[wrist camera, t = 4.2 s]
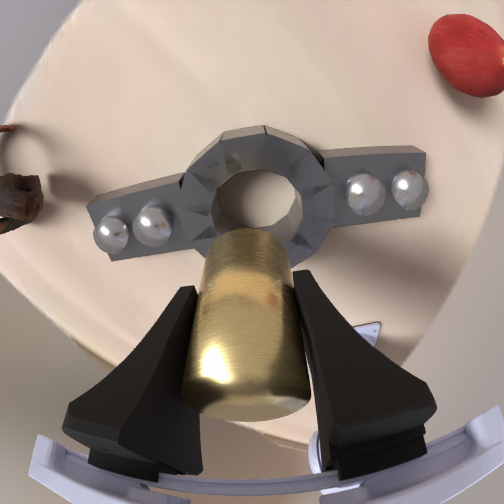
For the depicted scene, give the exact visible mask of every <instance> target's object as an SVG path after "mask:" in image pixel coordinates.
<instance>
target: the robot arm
mask: <svg viewBox="0 0 504 504" xmlns="http://www.w3.org/2000/svg"><path fill="white" fill-rule="evenodd" d="M292 273H293V282H294V290H295V296H296V302H297V307H298V312H299V318H300V324H301V330H302V336H303V342H304V348H305V352H306V356H307V360H308V364H309V368H310V378H311V379H312V382H313V390H314V397H315V405H316V413H317V422H318V431H315V432H314V434H313V436H312V438H311V439H310V442H309V448H308V453H309V462H310V466H311V469H312V472H313V474H310V475H302V476H294V477H283V478H270V479H211V478H197V477H186V476H178V475H177V474H180V475H185V474H187V475H199V474H200V473H201V472H202V471H203V465H202V456H201V444H200V418H199V412H198V411H196V410H194V409H192V408H191V407H190V406H188V405H187V404H186V403H185V402H184V400H183V399H182V396H181V390H182V384H183V377H184V371H185V365H186V359H187V353H188V347H189V341H190V336H191V330H192V325H193V319H194V314H195V309H196V304H197V298H198V294H197V291H196V289H195V287H194V285H193V286H185V287H180V289H179V290H178V291H177V293H176V294H175V295H174V297H173V298H172V300H171V301H170V303H169V304H168V306H167V307H166V308H165V310H164V311H163V313H162V314H161V315H160V317H159V318H158V320H157V321H156V322H155V324H154V325H153V326H152V328H151V329H150V330H149V332H148V333H147V334H146V335H145V337H144V338H143V339H142V341H141V342H140V343H139V344H138V345H137V346H136V348H135V349H134V350H133V351H132V352H131V353H130V354H129V355H128V356H127V357H126V359H125V360H124V361H123V362H121V363H120V364H119V365H118V366H117V367H116V368H115V369H114V370H113V371H112V372H111V373H110V374H109V375H108V376H106V377H105V378H104V379H103V380H102V381H100V382H99V383H98V384H97V385H95V386H94V387H93V388H91V389H90V390H88V391H87V392H86V393H84V394H83V395H81V396H80V397H78V398H76V399H75V400H74V401H72V402H70V403H69V406H68V409H67V412H66V415H65V419H64V422H63V426H62V430H63V432H64V433H65V434H66V435H68V436H69V437H71V438H73V439H74V440H76V441H78V442H80V443H81V444H83V445H85V446H87V447H89V448H90V453H89V456H88V455H85V454H82V453H80V452H77V451H74V450H71V449H69V448H66V447H65V446H64V445H62V444H60V443H58V442H56V441H54V440H52V439H50V438H47V437H45V436H43V435H41V434H38V437H37V440H36V444H35V448H34V452H33V456H32V460H31V464H30V470H29V476H31V477H32V478H33V479H35V480H37V481H39V482H40V483H42V484H43V485H45V486H46V487H48V488H49V489H51V490H52V491H54V492H56V493H57V494H59V495H60V496H62V497H63V498H65V499H66V500H68V501H70V502H71V503H73V504H190V501H191V500H190V499H188V498H182V497H177V496H172V495H168V494H163V493H158V492H153V491H150V489H149V487H148V486H151V487H156V488H162V489H168V490H174V491H181V492H188V493H197V494H208V495H224V496H266V495H283V494H294V493H303V492H311V491H317V490H320V491H321V493H322V496H321V497H320V498H319V502H320V504H442V503H444V502H445V501H447V500H449V499H451V498H452V497H454V496H455V495H457V494H459V493H460V492H462V491H464V490H465V489H467V488H468V487H470V486H471V485H473V484H474V483H476V482H477V481H479V480H480V479H482V478H483V477H485V476H486V475H488V474H489V473H490V472H492V471H493V470H495V469H496V468H497V467H499V466H500V465H501V464H503V463H504V418H503V415H502V412H501V410H500V407H499V405H498V404H496V405H494V406H493V407H491V408H489V409H488V410H486V411H484V412H483V413H481V414H479V415H477V416H476V417H474V418H473V419H471V420H470V421H469V422H467V423H466V424H465V426H463V427H461V428H459V429H457V430H455V431H453V432H451V433H449V434H446V435H444V436H442V437H440V438H438V439H436V440H433V441H431V442H429V443H426V444H425V441H424V436H423V435H424V434H425V432H426V431H425V427H424V423H425V422H426V421H427V420H428V419H429V418H431V417H432V416H433V414H434V413H435V412H436V410H437V405H436V402H435V399H434V397H433V395H432V393H431V391H430V389H429V387H428V385H427V384H426V382H424V381H422V380H421V379H419V378H417V377H415V376H414V375H412V374H410V373H409V372H407V371H406V370H404V369H403V368H401V367H400V366H398V365H397V364H395V363H394V362H393V361H391V360H390V359H389V358H387V357H386V356H385V355H384V354H382V353H381V352H380V351H378V350H377V349H376V348H375V344H376V341H377V337H378V334H379V330H380V324H379V323H372V324H368V325H363V326H358V327H352V326H351V325H350V324H349V323H348V322H347V321H346V320H345V318H344V317H343V316H342V315H341V314H340V313H339V312H338V310H337V309H336V308H335V307H334V305H333V304H332V303H331V302H330V300H329V299H328V298H327V297H326V295H325V294H324V292H323V291H322V290H321V288H320V287H319V285H318V284H317V282H316V281H315V279H314V277H313V275H312V274H311V272H310V271H309V270H308V269H307V270H300V271H294V272H292Z"/></svg>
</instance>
